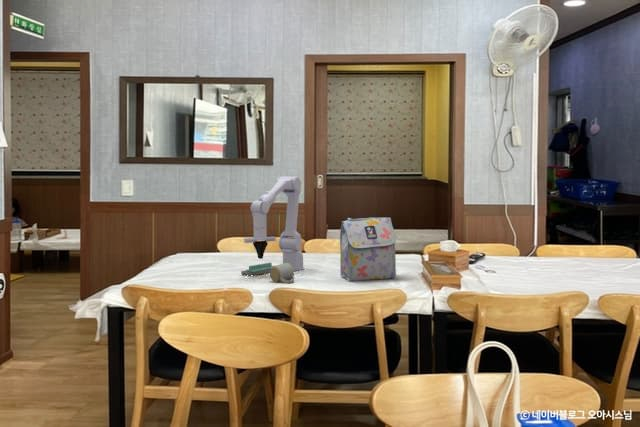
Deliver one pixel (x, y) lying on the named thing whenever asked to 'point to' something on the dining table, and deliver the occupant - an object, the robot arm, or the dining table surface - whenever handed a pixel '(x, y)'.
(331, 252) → the dining table surface
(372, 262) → the lunch bag
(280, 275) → the ceramic mug
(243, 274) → the grey open box
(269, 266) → the cover
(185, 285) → the dining table surface
